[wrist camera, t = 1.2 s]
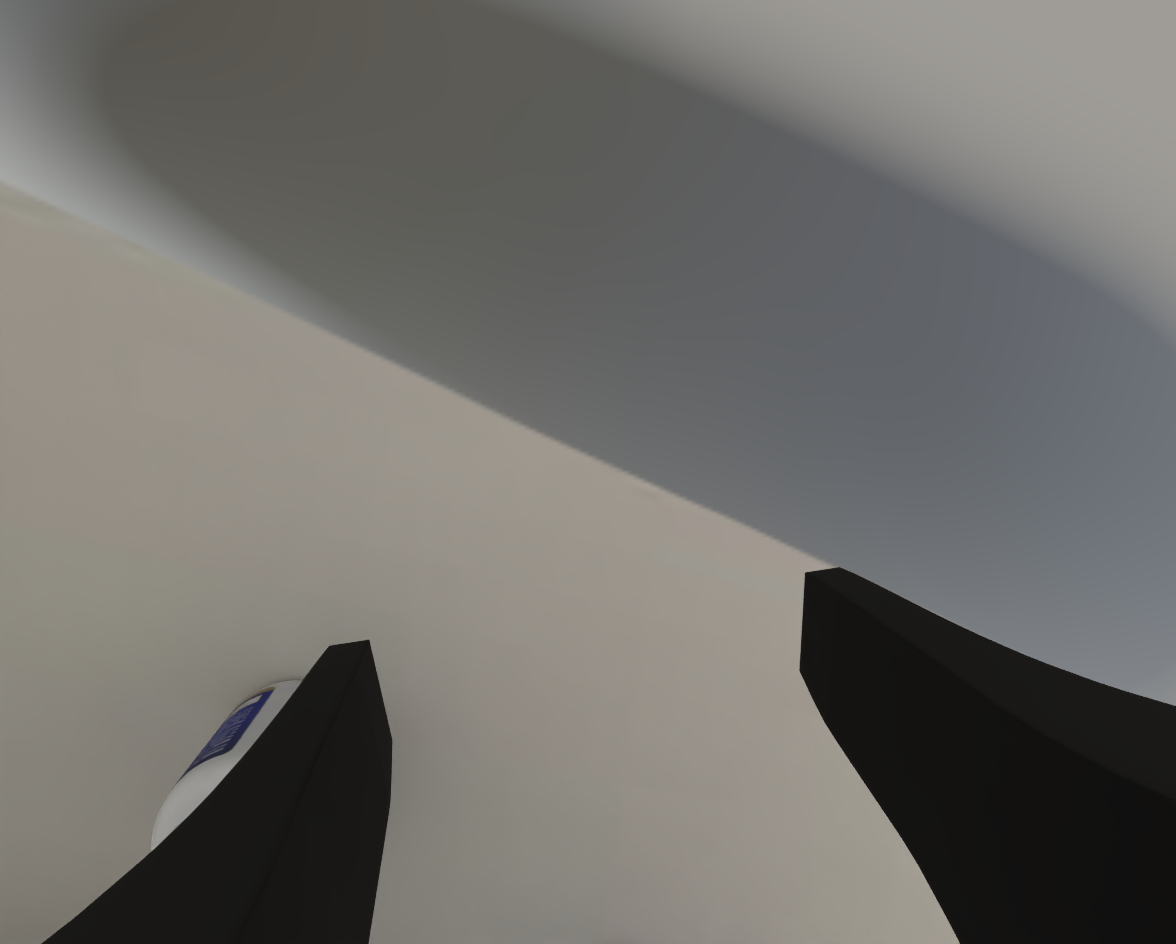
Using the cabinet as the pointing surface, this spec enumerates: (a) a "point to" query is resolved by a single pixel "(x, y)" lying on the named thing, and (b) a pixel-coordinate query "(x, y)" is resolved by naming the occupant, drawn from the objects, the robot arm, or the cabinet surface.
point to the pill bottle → (221, 755)
